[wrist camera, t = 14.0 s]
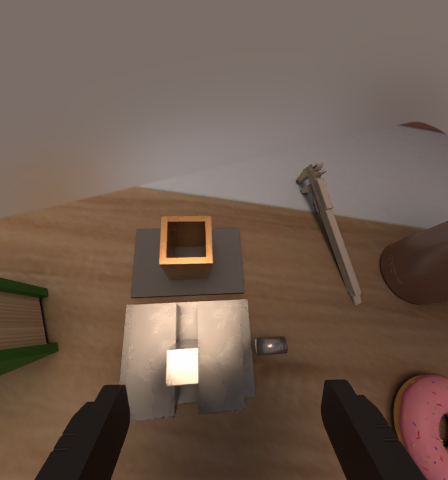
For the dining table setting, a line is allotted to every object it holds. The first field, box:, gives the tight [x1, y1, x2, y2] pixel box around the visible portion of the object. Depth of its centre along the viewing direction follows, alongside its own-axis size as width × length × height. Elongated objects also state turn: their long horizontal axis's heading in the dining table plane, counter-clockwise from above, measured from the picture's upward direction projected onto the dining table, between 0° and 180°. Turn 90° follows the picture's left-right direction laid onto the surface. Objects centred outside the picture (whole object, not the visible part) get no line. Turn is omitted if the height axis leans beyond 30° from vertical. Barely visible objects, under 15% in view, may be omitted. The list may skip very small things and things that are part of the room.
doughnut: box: [393, 374, 448, 480], centre depth 25 cm, size 11×11×4 cm
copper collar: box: [159, 216, 213, 280], centre depth 26 cm, size 5×5×8 cm
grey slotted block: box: [120, 299, 288, 422], centre depth 21 cm, size 17×10×13 cm, turn 93°
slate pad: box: [131, 228, 244, 298], centre depth 30 cm, size 14×9×1 cm, turn 93°
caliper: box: [296, 163, 362, 305], centre depth 31 cm, size 20×1×6 cm, turn 17°
